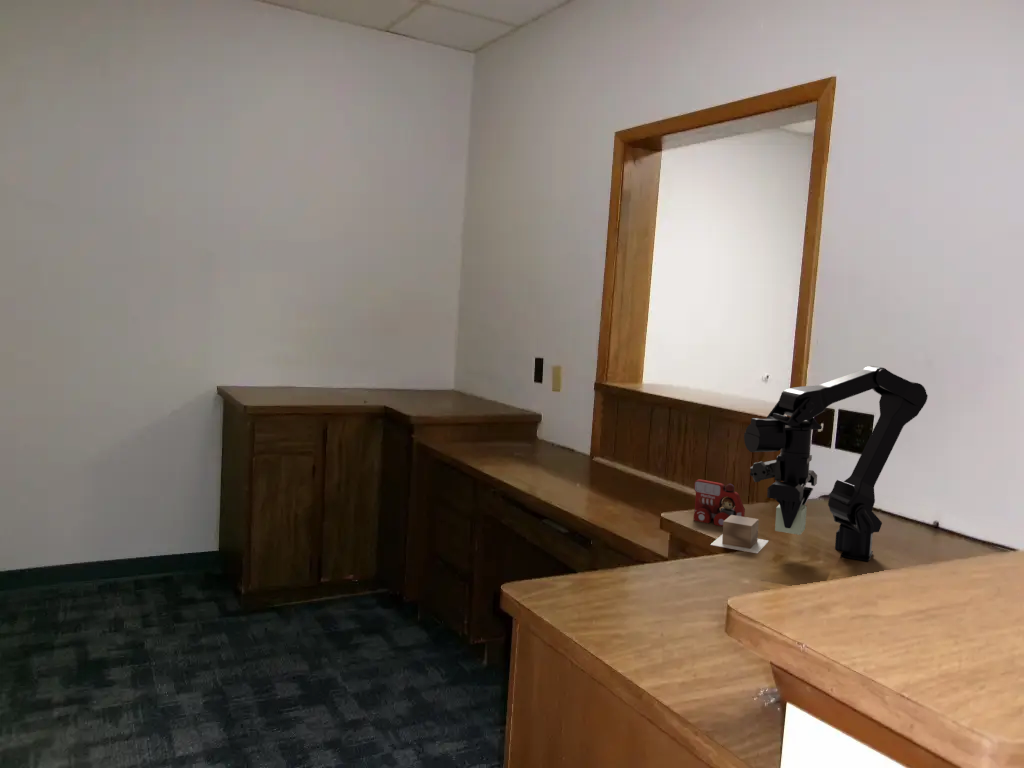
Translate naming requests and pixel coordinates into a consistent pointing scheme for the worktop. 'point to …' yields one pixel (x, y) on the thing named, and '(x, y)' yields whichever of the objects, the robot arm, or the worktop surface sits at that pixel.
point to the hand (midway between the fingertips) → (790, 524)
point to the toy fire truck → (716, 502)
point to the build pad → (754, 549)
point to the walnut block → (740, 531)
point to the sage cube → (797, 525)
